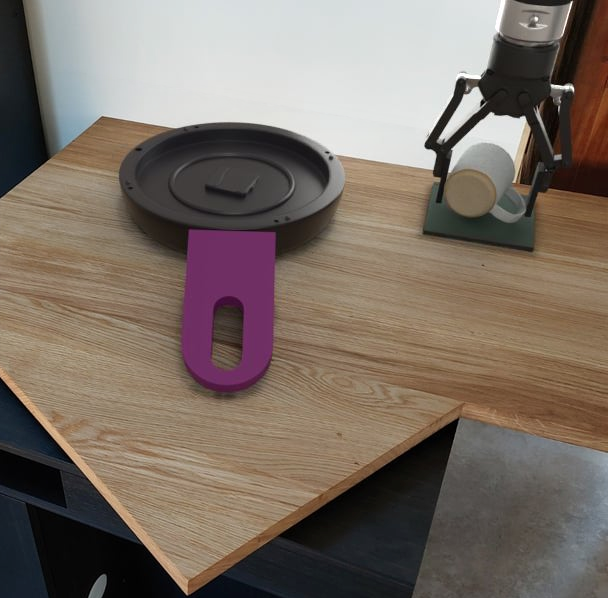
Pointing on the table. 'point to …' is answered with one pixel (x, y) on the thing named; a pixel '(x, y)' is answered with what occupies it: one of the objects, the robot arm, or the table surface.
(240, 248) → the mounting bracket
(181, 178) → the round tray
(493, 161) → the ceramic mug
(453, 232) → the mat
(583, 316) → the table surface
